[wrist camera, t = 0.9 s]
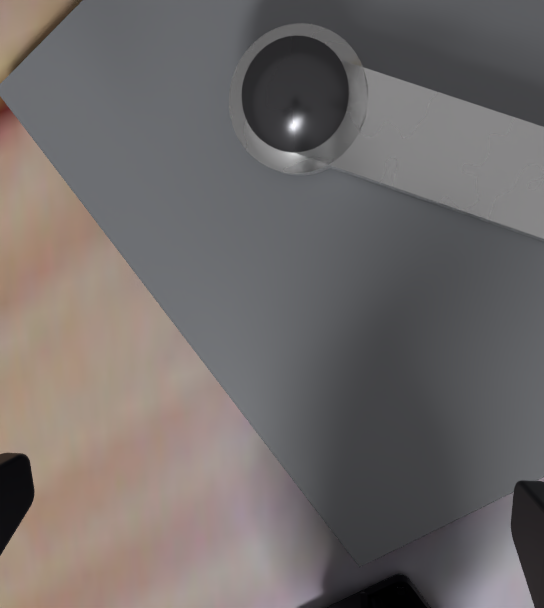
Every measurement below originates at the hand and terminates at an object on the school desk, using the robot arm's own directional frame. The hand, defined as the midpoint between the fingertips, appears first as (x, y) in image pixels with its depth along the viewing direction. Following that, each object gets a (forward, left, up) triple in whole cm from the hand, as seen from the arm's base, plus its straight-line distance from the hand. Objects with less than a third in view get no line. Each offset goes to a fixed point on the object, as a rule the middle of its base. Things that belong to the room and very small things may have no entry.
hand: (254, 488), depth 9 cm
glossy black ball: (+7, -5, -8) cm, 12 cm away
